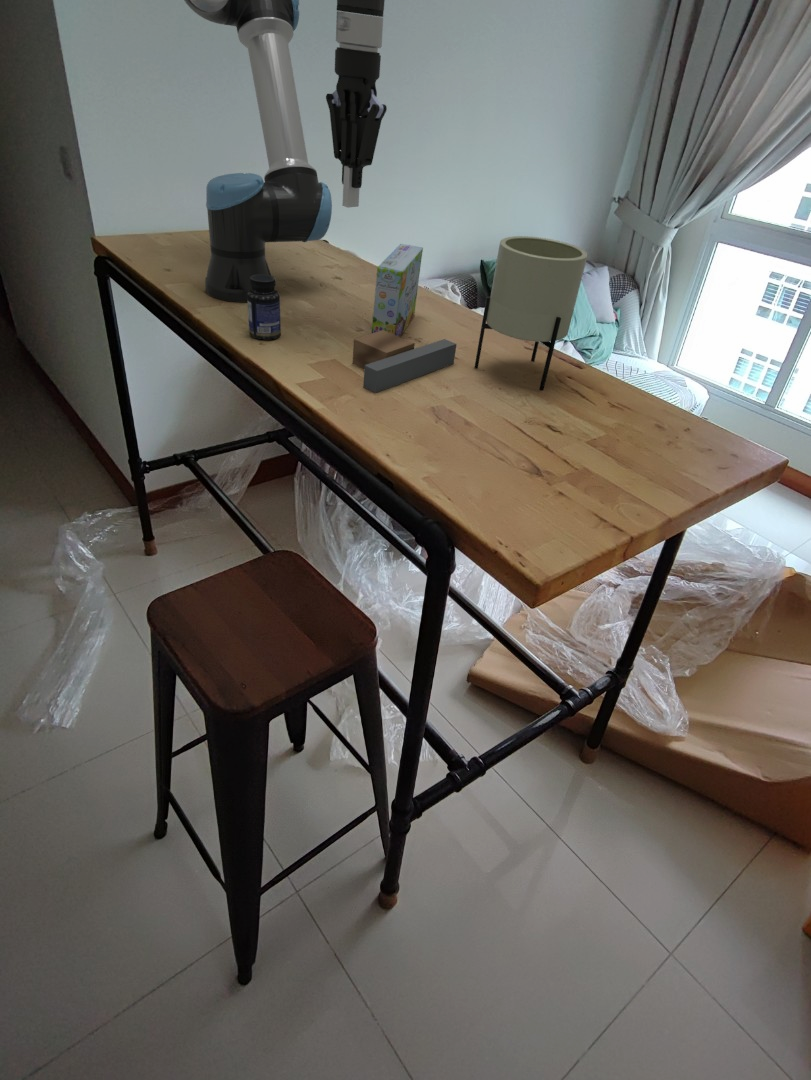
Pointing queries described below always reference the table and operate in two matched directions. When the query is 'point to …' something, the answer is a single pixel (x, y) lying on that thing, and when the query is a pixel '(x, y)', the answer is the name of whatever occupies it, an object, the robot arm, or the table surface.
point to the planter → (534, 292)
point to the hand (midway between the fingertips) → (350, 205)
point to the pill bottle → (264, 308)
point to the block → (378, 347)
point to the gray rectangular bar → (408, 365)
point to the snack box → (397, 290)
